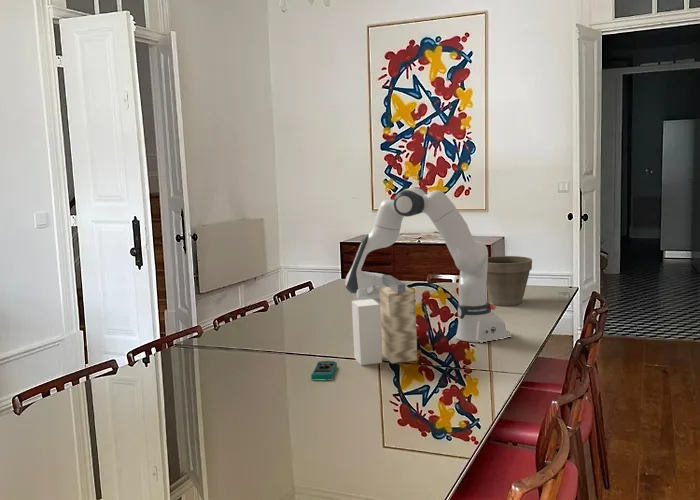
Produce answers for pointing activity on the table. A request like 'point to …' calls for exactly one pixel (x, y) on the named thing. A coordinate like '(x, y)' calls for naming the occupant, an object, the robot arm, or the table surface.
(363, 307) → the block
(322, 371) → the digital multimeter
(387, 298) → the tall stand
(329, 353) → the table surface
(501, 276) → the plant pot
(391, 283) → the rod
